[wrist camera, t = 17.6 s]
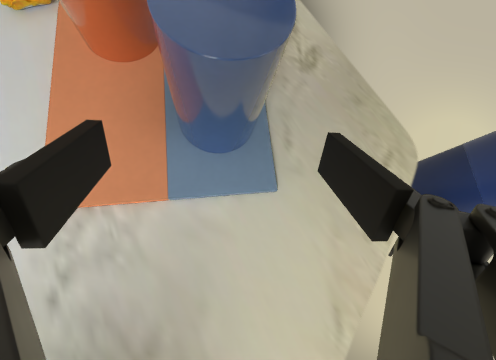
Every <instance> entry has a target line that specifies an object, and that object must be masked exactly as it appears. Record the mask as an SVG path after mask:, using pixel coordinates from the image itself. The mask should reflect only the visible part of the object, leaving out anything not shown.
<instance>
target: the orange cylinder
mask: <svg viewBox="0 0 496 360" xmlns="http://www.w3.org/2000/svg"><path fill="white" fill-rule="evenodd" d="M59 2H60V3H61V5H62V7H63V8H64V10H65V11H66V13H67V15H68V16H69V18H70V20H71V21H72V23H73V24H74V26H75V28H76V29H77V31H78V32H79V34H80V36H81V37H82V39H83V40H84V42H85V44H86V45H87V46H88V48H89V49H90V50H91V51H92V52H93V53H95V54H96V55H98V56H100V57H101V58H104V59H106V60H110V61H114V62H133V61H137V60H140V59H142V58H144V57H146V56H148V55H149V54H151V53H152V52H153V51H154V50H155V49H156V48H157V46H158V43H157V39H156V35H155V32H154V28H153V24H152V20H151V16H150V13H149V9H148V5H147V0H59Z"/></svg>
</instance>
